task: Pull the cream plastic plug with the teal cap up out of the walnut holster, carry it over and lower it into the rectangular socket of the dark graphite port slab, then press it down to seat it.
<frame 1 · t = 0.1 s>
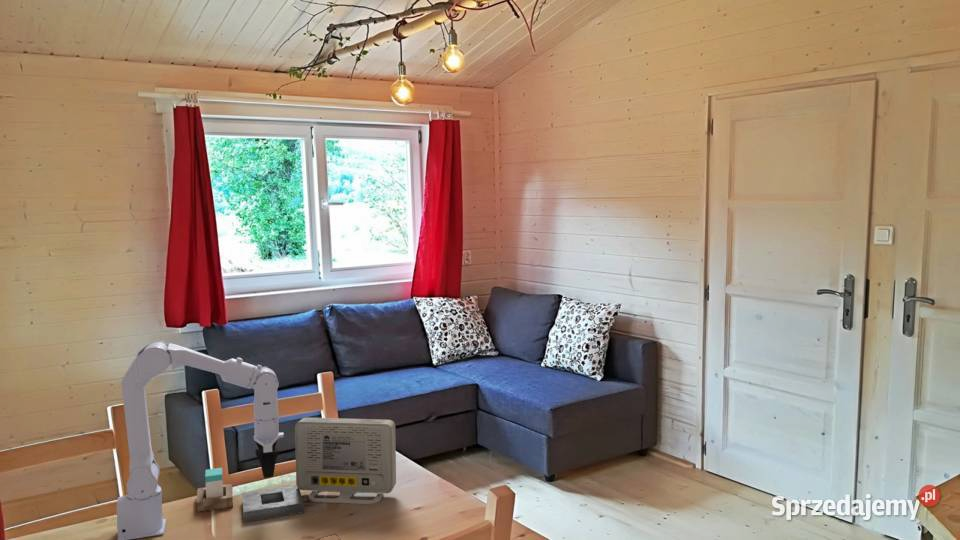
hand: (267, 471, 169), 10 cm above the table, fingers open, 7 cm apart
holster: (215, 502, 175), on the table
plug: (214, 487, 175), in the holster
port: (272, 507, 171), on the table
network device: (346, 496, 178), on the table, touching port
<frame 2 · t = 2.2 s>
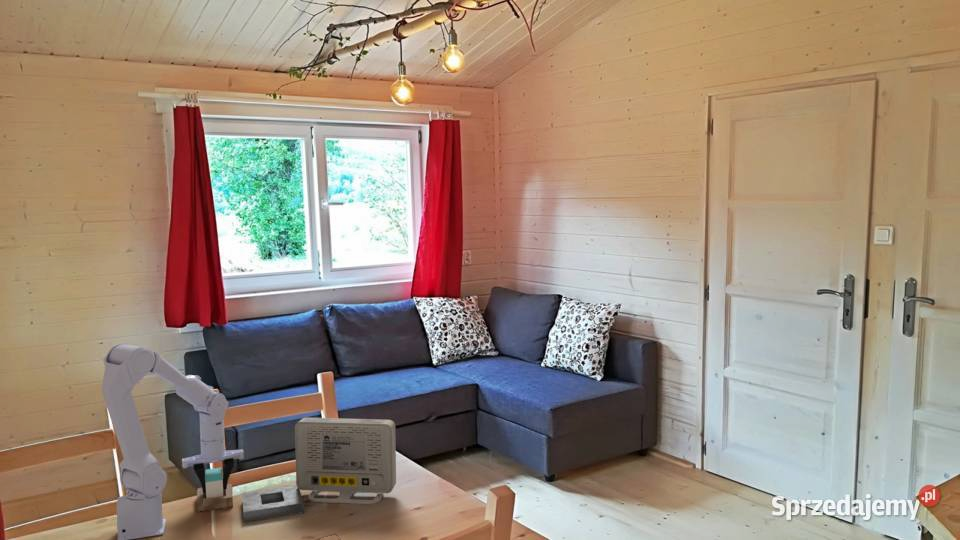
hand: (214, 490, 175), 3 cm above the table, fingers closed on plug, 4 cm apart
plug: (214, 487, 175), in the holster, touching gripper
everything else where it was.
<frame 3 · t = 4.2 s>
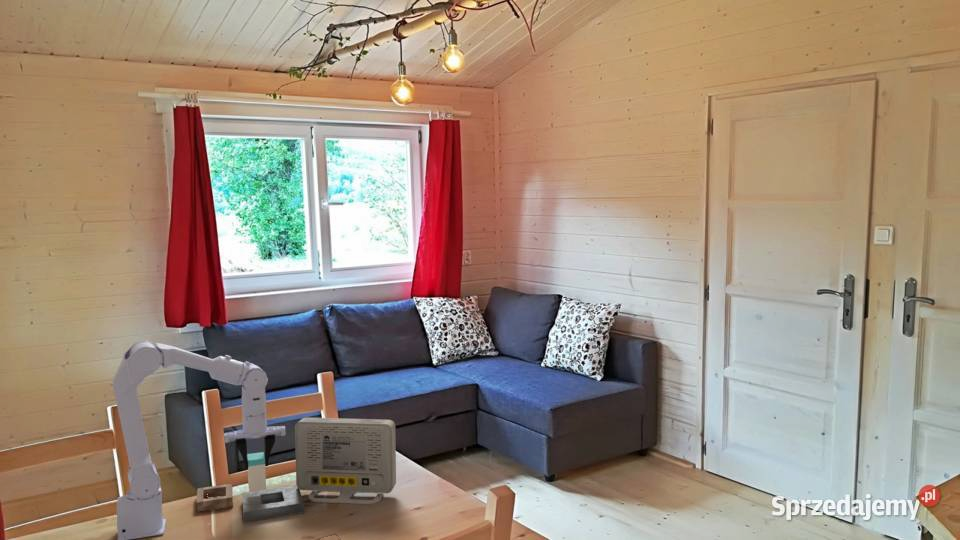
hand: (256, 466, 172), 10 cm above the table, fingers closed on plug, 4 cm apart
plug: (256, 471, 172), point 9 cm above the table, touching gripper
everything else where it was.
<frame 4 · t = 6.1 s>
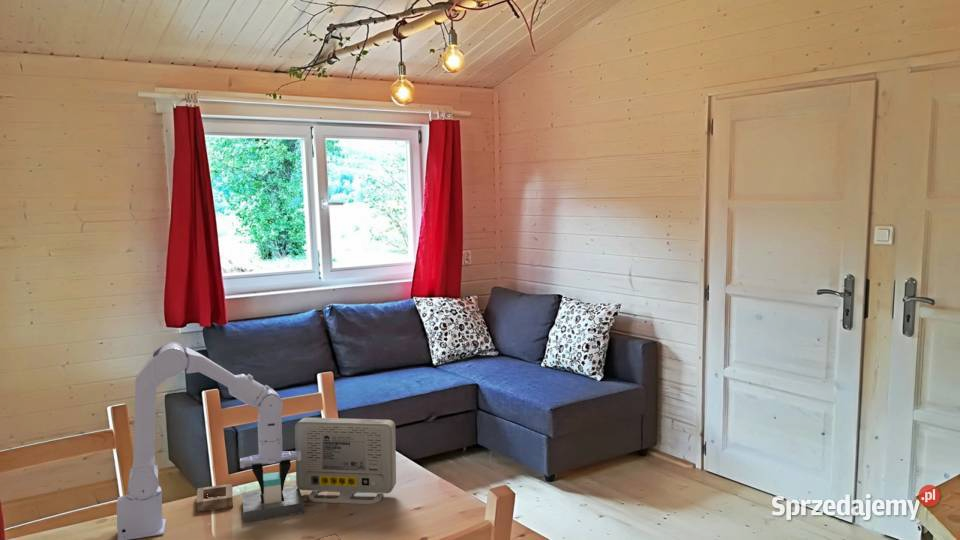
hand: (271, 491, 171), 4 cm above the table, fingers closed on plug, 4 cm apart
plug: (271, 491, 171), in the port, touching gripper
everything else where it was.
when the fingers open (4 cm above the table, at t = 6.4 s): plug stays where it is, resting in port.
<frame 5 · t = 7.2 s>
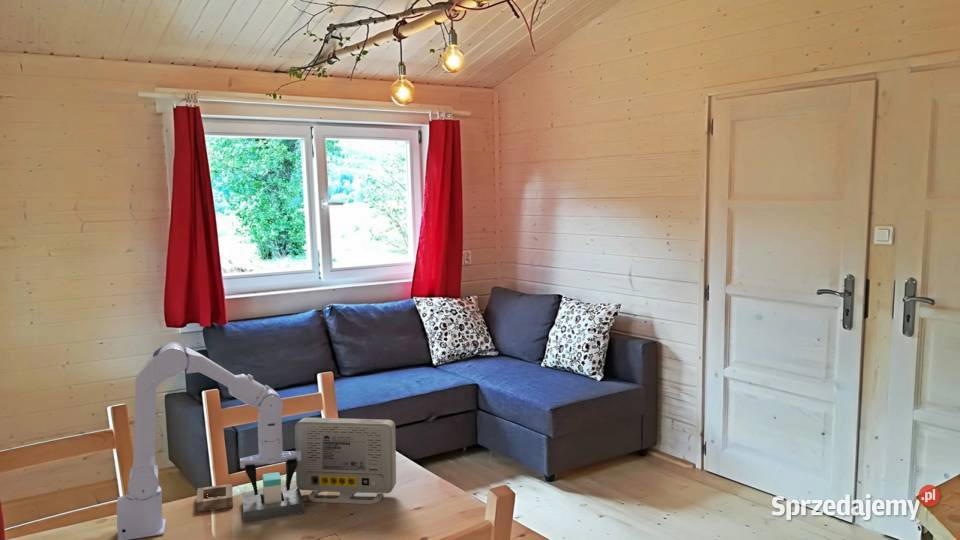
hand: (272, 491, 171), 4 cm above the table, fingers open, 7 cm apart
plug: (272, 492, 171), in the port
everything else where it was.
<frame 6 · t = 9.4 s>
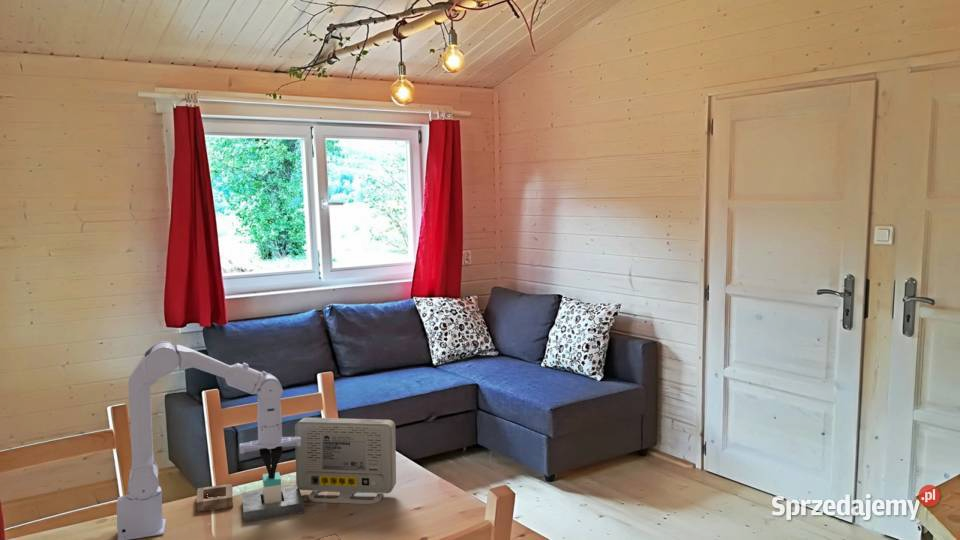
hand: (271, 476, 171), 8 cm above the table, fingers closed, pressing on plug
plug: (272, 491, 171), in the port, touching gripper
everything else where it was.
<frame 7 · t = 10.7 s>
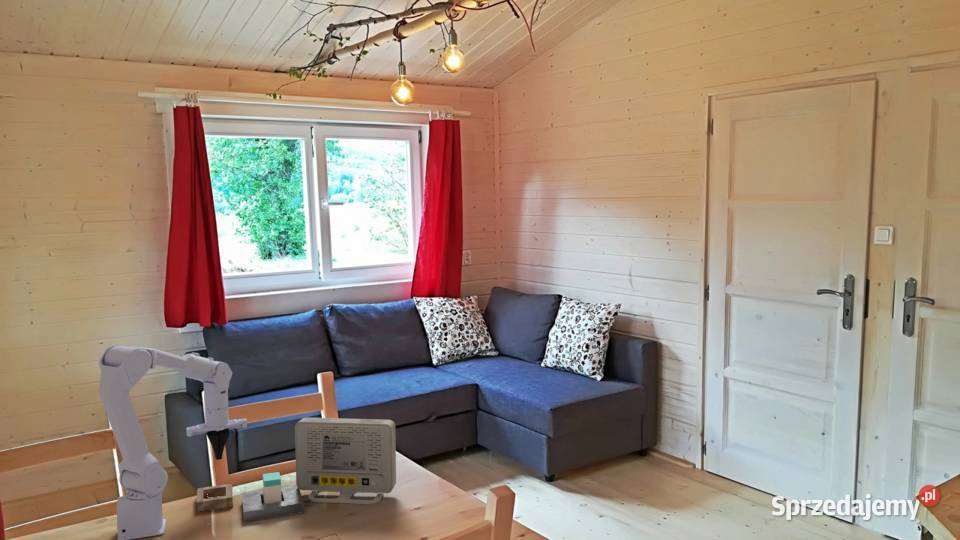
hand: (218, 458, 177), 10 cm above the table, fingers closed
plug: (272, 492, 171), in the port
everything else where it was.
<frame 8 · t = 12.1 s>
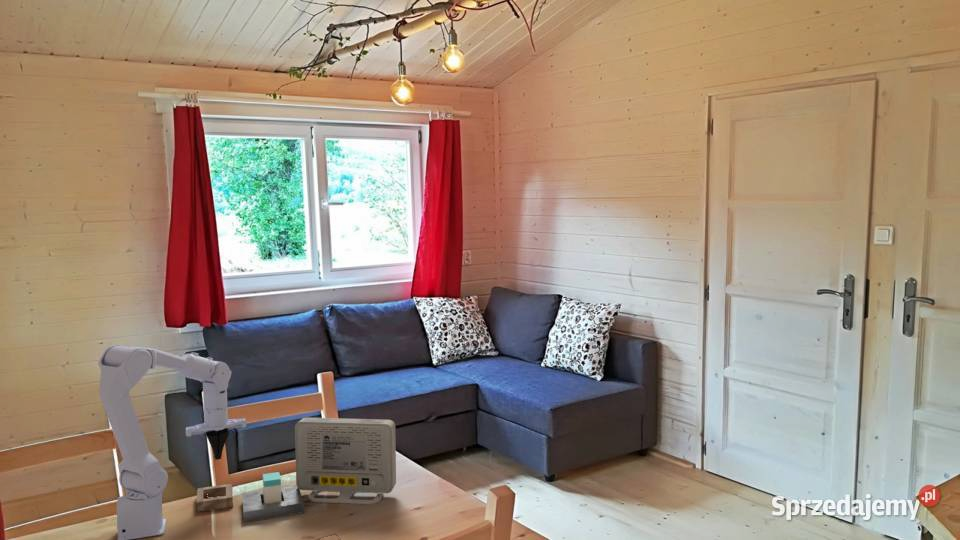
hand: (217, 458, 177), 10 cm above the table, fingers closed
nothing on the table moved.
at the end: plug 0.2 cm off-centre on the port, point 3.9 cm above the port's base; plug tilted 0°; the gripper is holding nothing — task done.
